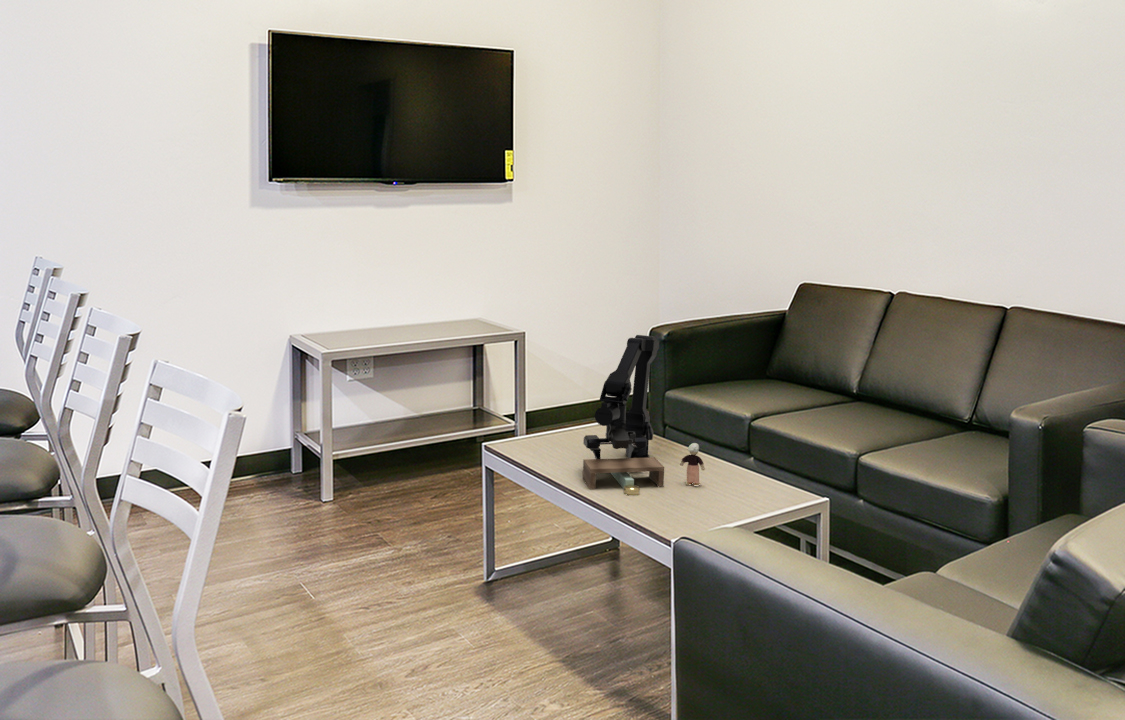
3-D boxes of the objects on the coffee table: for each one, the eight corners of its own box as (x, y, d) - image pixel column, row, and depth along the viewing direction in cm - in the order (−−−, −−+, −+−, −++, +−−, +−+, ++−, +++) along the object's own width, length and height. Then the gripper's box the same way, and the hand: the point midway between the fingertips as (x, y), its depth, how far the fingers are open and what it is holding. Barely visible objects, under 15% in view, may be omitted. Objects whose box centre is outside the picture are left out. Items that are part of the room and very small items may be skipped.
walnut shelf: (653, 476, 287) (654, 457, 286) (663, 486, 277) (664, 467, 276) (582, 478, 283) (583, 459, 282) (590, 489, 273) (590, 469, 272)
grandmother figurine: (705, 484, 281) (708, 443, 278) (703, 488, 277) (705, 446, 275) (680, 481, 283) (682, 440, 281) (677, 484, 279) (679, 443, 277)
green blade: (614, 469, 294) (615, 458, 294) (633, 491, 273) (634, 479, 272) (607, 469, 294) (607, 458, 293) (625, 491, 273) (625, 480, 272)
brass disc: (637, 491, 273) (637, 484, 273) (641, 496, 269) (641, 489, 268) (622, 491, 272) (622, 484, 272) (625, 496, 268) (625, 489, 268)
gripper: (592, 426, 278) (590, 477, 280) (653, 424, 281) (650, 475, 284) (583, 417, 288) (582, 466, 291) (643, 415, 292) (640, 464, 295)
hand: (614, 468), depth 290 cm, fingers open, 9 cm apart
